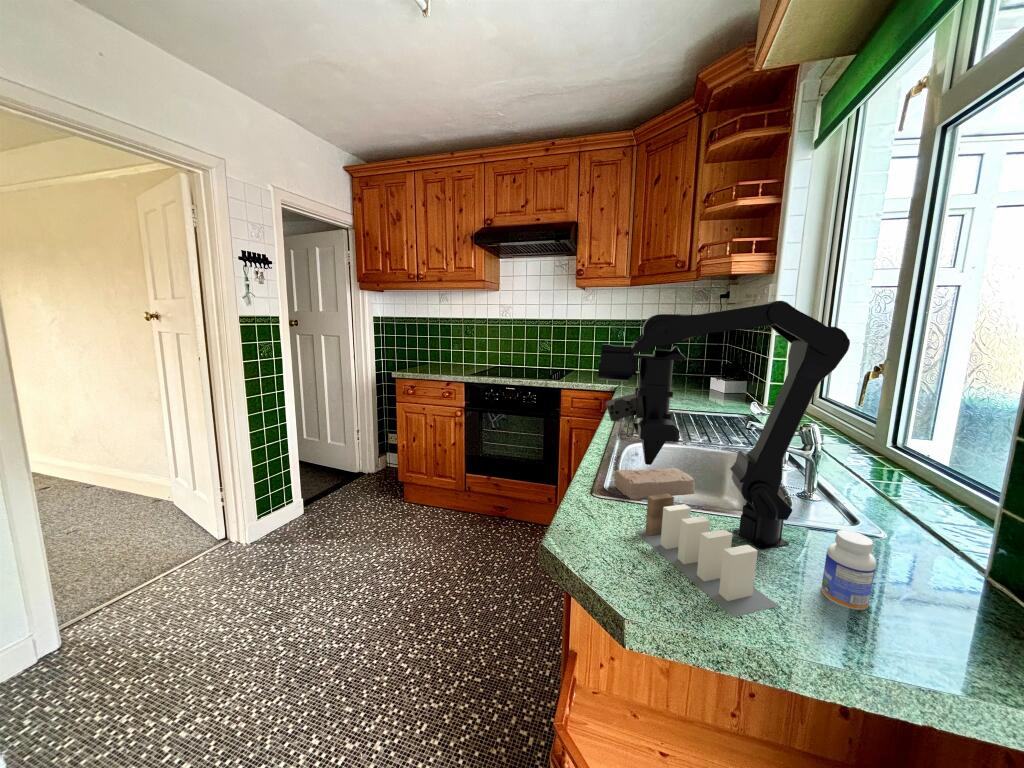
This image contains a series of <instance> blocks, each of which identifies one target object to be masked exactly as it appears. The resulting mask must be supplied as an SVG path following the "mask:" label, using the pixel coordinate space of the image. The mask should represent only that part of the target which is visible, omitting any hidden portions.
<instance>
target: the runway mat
mask: <svg viewBox="0 0 1024 768" xmlns="http://www.w3.org/2000/svg"><path fill="white" fill-rule="evenodd" d="M634 532H635V533H636V534H637V535H639V536H640V537H641V539H643V540H644V541H645V542H647V544H649V545H650V546H651V547H652V548H654V549H655V550H656V552H657V553H659V554H660V555H661V556H662V557H664V558H665V560H667V561H668V562H669V563H670V564H671V565H672V566H674V567H675V568H676V570H678V571H679V572H681V574H682V575H684V576H685V577H686V578H687V579H688V580H689V581H691V582H692V583H693V584H694V585H695V586H696V587H697V588H699V590H701V591H702V592H703V593H705V595H706V596H708V597H709V598H710V599H711V600H712V601H714V602H715V603H716V605H718V606H719V607H720V608H721V609H722V610H724V611H725V612H726V613H727V614H728V615H729V616H730V617H732V618H734V617H738V616H743V615H749V614H751V613H755V612H760V611H764V610H768V609H773V608H777V607H780V605H778V604H777V603H776V602H775V601H773V600H772V599H770V598H769V597H768V596H766V595H765V594H764V593H762V592H761V591H759V590H758V589H757V588H756V587H754V586H753V594H752V596H748V597H743V598H739V599H734V600H730V601H727V600H726V599H725V598H723V597H722V596H721V595H720V594H719V588H720V578H719V579H714V580H709V581H703V580H702V579H701V578H700V577H699V576H697V568H698V562H694V563H688V564H683V563H682V562H681V561H680V560H678V547H677V548H671V549H665V548H664V547H663V546H662V545H661V534H660V535H653V536H650V535H649V534H648V533H647V532H646V528H645V529H640V530H638V529H637V530H634Z"/></svg>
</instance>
